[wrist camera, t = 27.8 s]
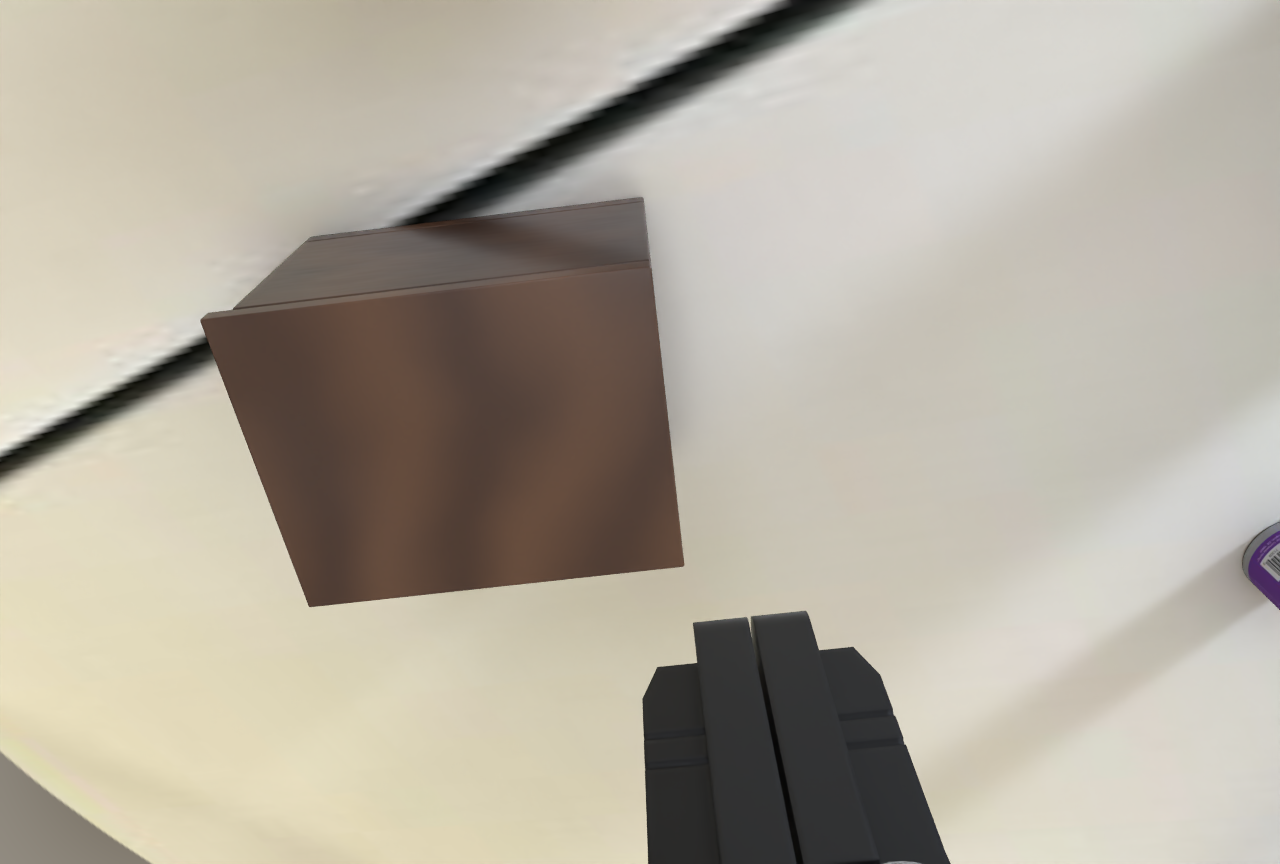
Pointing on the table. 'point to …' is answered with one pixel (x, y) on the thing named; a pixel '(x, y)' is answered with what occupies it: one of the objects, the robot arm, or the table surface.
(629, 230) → the box
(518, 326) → the lid
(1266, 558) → the container
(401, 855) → the table surface
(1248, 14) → the table surface
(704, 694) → the robot arm
